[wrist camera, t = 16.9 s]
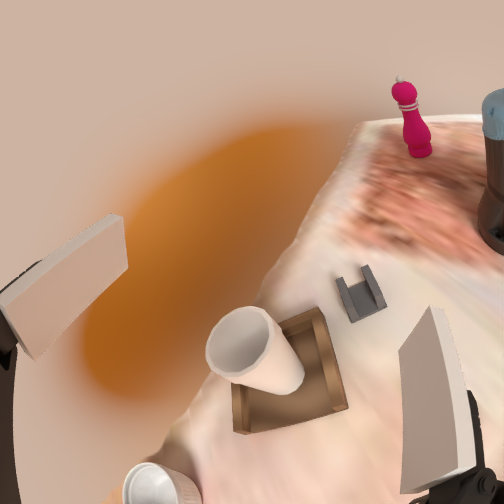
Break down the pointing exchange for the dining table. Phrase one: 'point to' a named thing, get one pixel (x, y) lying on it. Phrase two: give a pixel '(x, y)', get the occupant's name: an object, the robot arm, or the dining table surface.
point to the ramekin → (158, 486)
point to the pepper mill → (412, 119)
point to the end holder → (307, 394)
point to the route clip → (362, 296)
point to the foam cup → (254, 352)
